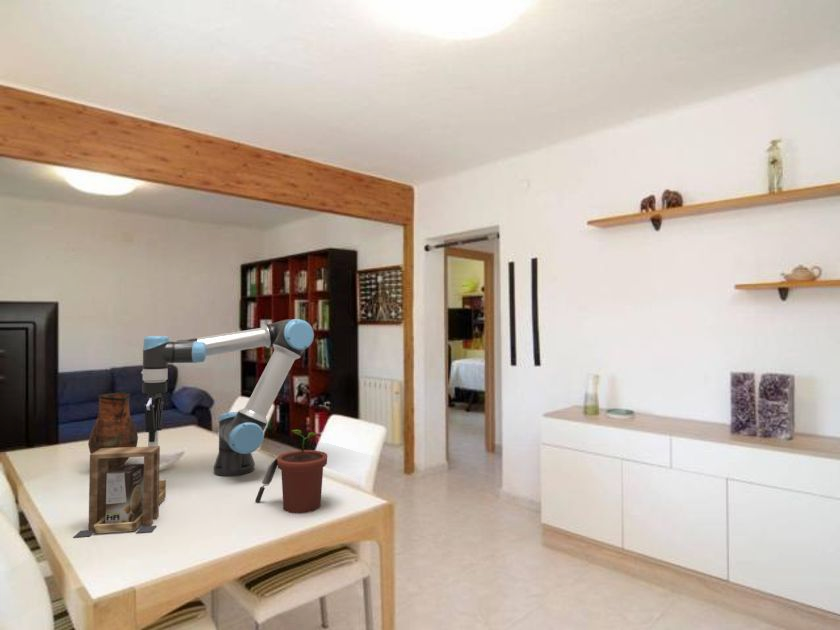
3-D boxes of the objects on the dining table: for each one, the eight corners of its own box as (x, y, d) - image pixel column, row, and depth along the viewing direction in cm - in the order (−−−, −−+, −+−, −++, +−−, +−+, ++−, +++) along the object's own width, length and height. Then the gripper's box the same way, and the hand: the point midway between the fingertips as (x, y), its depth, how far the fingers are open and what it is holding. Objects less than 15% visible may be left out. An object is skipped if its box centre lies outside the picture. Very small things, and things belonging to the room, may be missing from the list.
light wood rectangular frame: (165, 497, 161) (165, 479, 161) (135, 530, 135) (135, 508, 135) (130, 499, 159) (130, 481, 159) (93, 533, 133) (93, 511, 133)
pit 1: (96, 530, 136) (96, 529, 136) (89, 536, 132) (89, 535, 132) (80, 531, 135) (80, 530, 135) (73, 538, 131) (73, 536, 131)
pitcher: (97, 480, 180) (99, 398, 180) (77, 469, 193) (78, 393, 193) (145, 469, 193) (146, 393, 193) (123, 460, 206) (124, 389, 206)
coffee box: (128, 529, 137) (129, 472, 137) (104, 530, 136) (105, 473, 137) (143, 516, 146) (144, 463, 146) (121, 517, 146) (122, 463, 146)
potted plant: (286, 522, 143) (287, 436, 143) (254, 502, 159) (255, 425, 159) (337, 506, 155) (338, 428, 155) (302, 489, 171) (303, 418, 171)
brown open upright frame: (158, 516, 146) (159, 446, 147) (150, 526, 139) (151, 452, 140) (99, 520, 143) (101, 448, 143) (88, 530, 136) (89, 454, 137)
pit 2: (156, 526, 139) (156, 525, 139) (151, 532, 135) (151, 531, 135) (141, 527, 138) (141, 526, 138) (136, 533, 134) (136, 532, 134)
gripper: (149, 379, 171) (147, 446, 170) (135, 383, 158) (133, 456, 158) (172, 378, 173) (170, 445, 172) (160, 383, 160) (158, 455, 159)
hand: (152, 450), depth 165 cm, fingers closed
